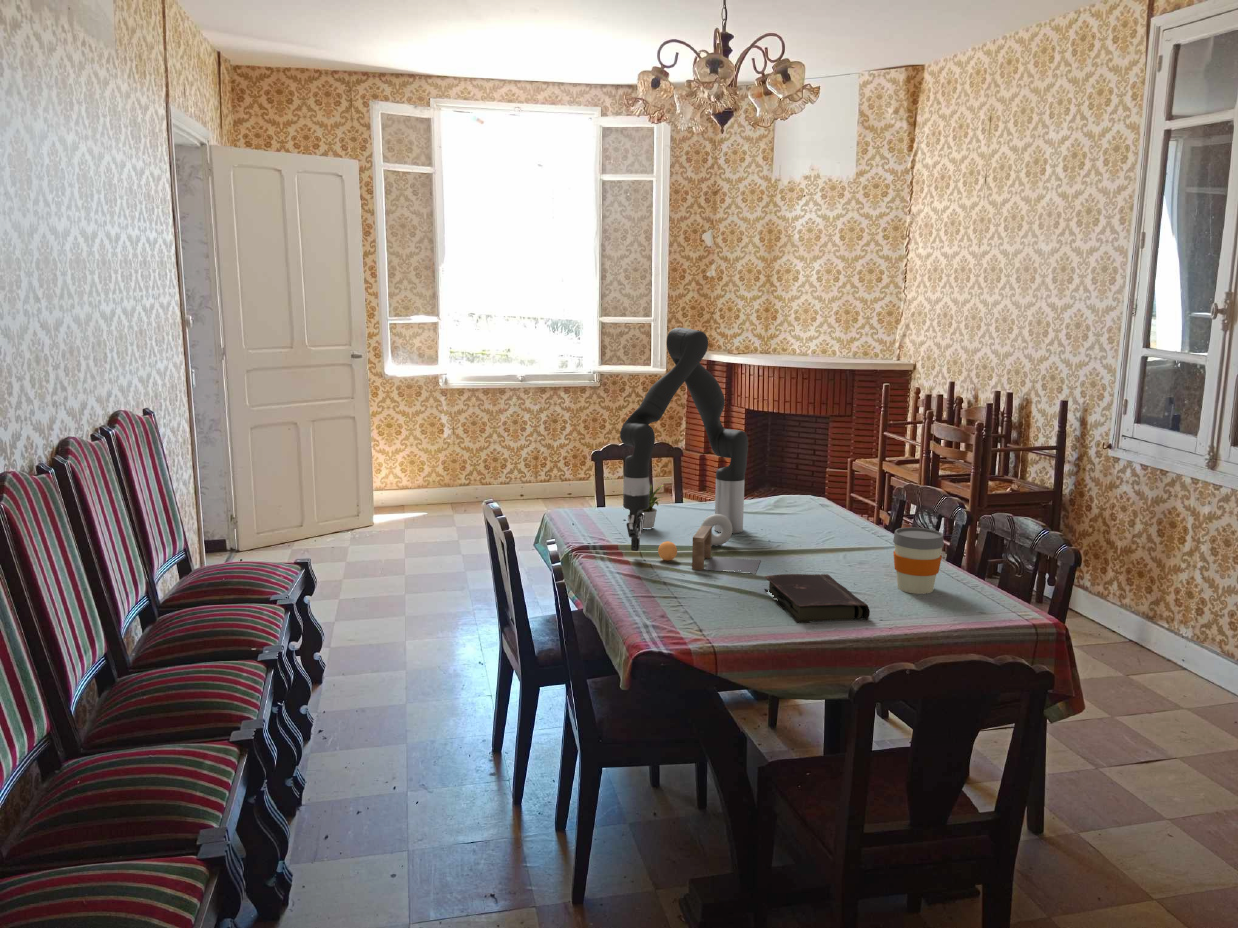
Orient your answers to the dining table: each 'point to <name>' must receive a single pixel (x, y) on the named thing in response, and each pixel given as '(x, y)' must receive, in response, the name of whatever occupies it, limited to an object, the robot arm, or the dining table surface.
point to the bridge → (701, 547)
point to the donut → (725, 526)
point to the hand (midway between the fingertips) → (635, 550)
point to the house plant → (651, 509)
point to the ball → (667, 550)
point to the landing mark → (733, 564)
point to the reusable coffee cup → (917, 558)
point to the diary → (815, 598)
